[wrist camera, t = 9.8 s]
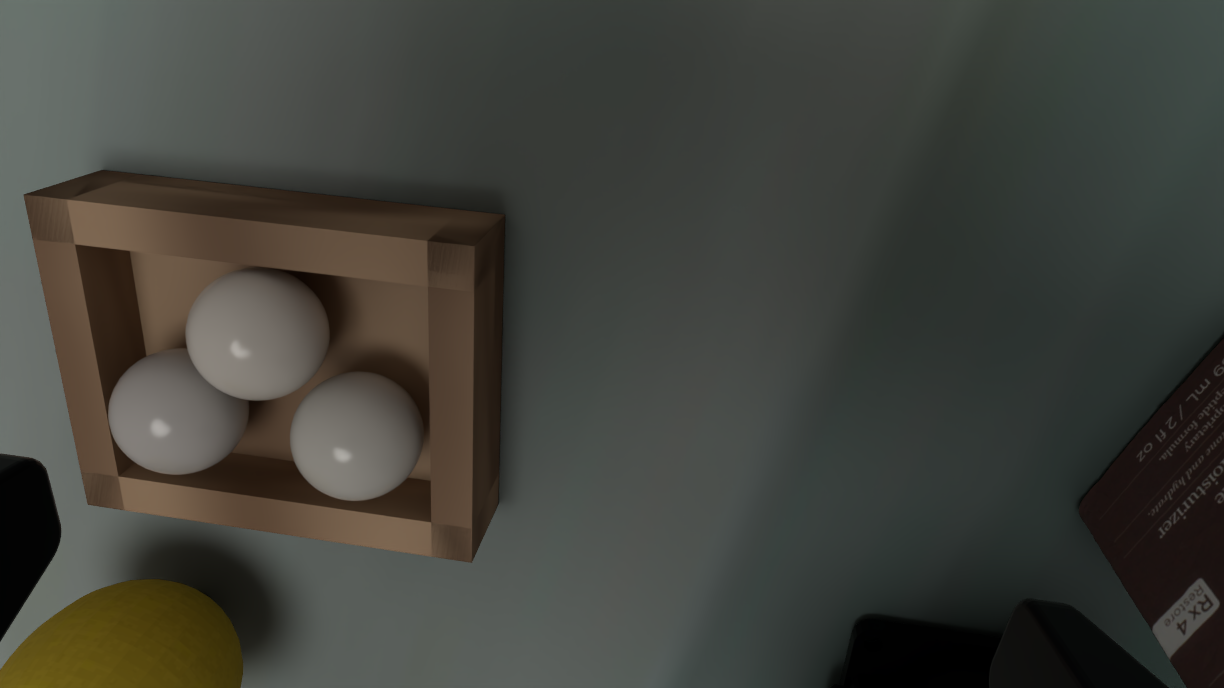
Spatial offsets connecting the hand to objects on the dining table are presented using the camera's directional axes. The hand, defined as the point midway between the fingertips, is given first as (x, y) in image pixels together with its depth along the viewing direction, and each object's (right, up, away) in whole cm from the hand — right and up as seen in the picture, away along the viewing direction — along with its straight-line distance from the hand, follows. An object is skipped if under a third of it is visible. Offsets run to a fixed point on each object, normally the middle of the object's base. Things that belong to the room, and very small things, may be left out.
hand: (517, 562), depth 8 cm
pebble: (-9, +1, +14) cm, 17 cm away
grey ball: (-7, +3, +13) cm, 15 cm away
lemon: (-11, -6, +18) cm, 22 cm away
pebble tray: (-7, +2, +14) cm, 16 cm away
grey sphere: (-5, 0, +14) cm, 14 cm away
